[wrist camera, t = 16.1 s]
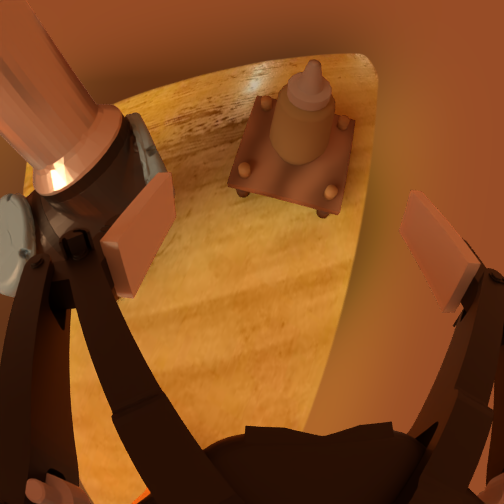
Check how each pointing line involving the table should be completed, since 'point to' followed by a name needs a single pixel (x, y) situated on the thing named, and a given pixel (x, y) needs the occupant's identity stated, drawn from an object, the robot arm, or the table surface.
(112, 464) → the table surface
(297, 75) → the squeeze bottle
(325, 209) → the walnut stand
